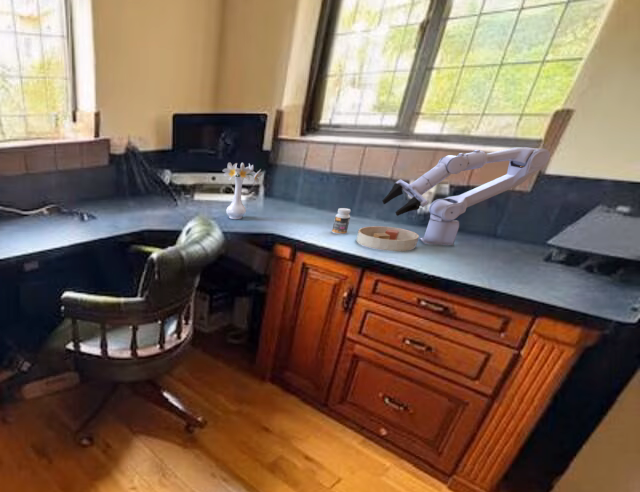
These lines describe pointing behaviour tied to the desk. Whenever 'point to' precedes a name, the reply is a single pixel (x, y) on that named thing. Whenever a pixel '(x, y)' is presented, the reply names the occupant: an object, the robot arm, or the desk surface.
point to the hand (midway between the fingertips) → (389, 208)
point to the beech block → (381, 235)
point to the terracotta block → (392, 234)
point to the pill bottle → (341, 221)
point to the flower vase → (239, 187)
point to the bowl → (403, 242)
